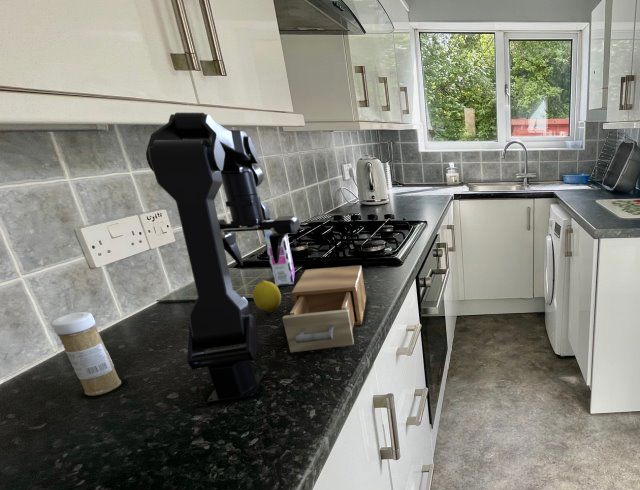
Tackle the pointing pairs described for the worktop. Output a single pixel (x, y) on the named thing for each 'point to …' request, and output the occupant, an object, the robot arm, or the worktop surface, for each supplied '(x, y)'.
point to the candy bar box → (280, 261)
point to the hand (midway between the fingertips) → (259, 264)
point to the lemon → (266, 296)
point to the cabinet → (334, 285)
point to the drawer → (321, 321)
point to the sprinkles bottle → (87, 352)
